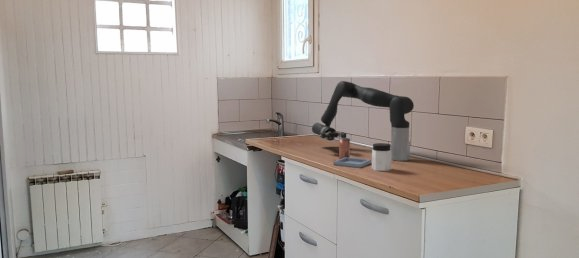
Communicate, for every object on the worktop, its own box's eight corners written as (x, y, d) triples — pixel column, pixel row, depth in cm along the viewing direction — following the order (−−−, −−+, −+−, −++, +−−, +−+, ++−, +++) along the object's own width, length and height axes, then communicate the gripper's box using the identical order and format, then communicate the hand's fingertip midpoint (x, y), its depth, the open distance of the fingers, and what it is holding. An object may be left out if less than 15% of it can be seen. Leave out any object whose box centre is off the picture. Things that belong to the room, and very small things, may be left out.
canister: (351, 158, 237) (351, 138, 236) (347, 160, 232) (347, 139, 231) (341, 157, 240) (341, 137, 239) (337, 159, 235) (337, 139, 234)
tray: (370, 163, 224) (370, 159, 224) (359, 167, 212) (359, 164, 212) (345, 160, 231) (345, 157, 231) (333, 165, 219) (333, 161, 219)
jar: (370, 170, 206) (371, 145, 204) (372, 167, 214) (373, 142, 212) (390, 171, 203) (390, 146, 202) (391, 168, 211) (392, 143, 210)
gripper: (316, 127, 259) (325, 130, 244) (339, 126, 263) (349, 130, 247) (316, 139, 260) (324, 144, 245) (339, 139, 263) (349, 143, 248)
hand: (337, 137), depth 246 cm, fingers open, 8 cm apart
